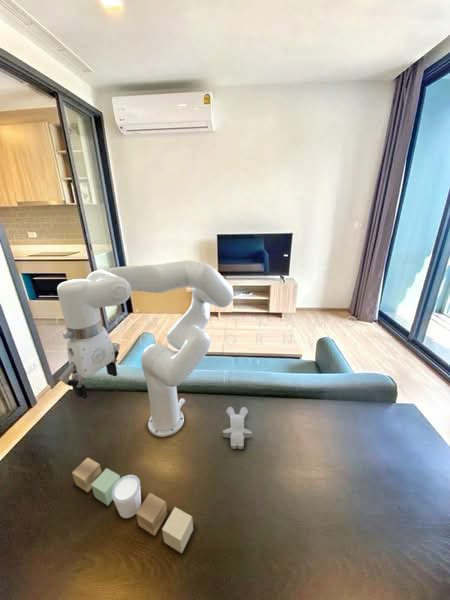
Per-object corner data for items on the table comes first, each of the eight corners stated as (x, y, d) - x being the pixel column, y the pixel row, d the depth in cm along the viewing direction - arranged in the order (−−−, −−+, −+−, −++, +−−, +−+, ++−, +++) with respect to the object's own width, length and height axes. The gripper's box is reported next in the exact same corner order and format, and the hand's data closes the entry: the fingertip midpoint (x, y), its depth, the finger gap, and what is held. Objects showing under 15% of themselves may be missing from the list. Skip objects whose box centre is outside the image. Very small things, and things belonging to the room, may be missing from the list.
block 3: (152, 505, 66) (149, 492, 64) (167, 514, 64) (165, 501, 62) (138, 525, 61) (135, 512, 60) (154, 536, 59) (152, 523, 58)
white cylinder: (135, 524, 62) (131, 505, 59) (110, 517, 63) (105, 499, 61) (148, 494, 68) (145, 477, 66) (125, 489, 69) (121, 472, 67)
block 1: (91, 469, 75) (87, 457, 73) (102, 476, 73) (99, 464, 71) (75, 484, 71) (71, 472, 69) (87, 492, 69) (83, 480, 67)
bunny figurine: (222, 442, 78) (224, 402, 92) (222, 452, 81) (224, 412, 94) (252, 443, 78) (250, 403, 91) (251, 452, 80) (249, 412, 94)
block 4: (176, 519, 63) (174, 506, 61) (193, 529, 61) (192, 516, 59) (163, 542, 58) (161, 529, 57) (181, 553, 56) (180, 540, 55)
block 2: (109, 480, 72) (106, 467, 70) (122, 487, 70) (119, 475, 68) (94, 497, 68) (91, 484, 66) (107, 505, 66) (104, 493, 64)
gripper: (61, 349, 53) (78, 411, 59) (123, 318, 68) (132, 370, 74) (39, 342, 56) (58, 402, 62) (103, 313, 71) (113, 364, 77)
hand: (98, 385), depth 68 cm, fingers open, 9 cm apart
